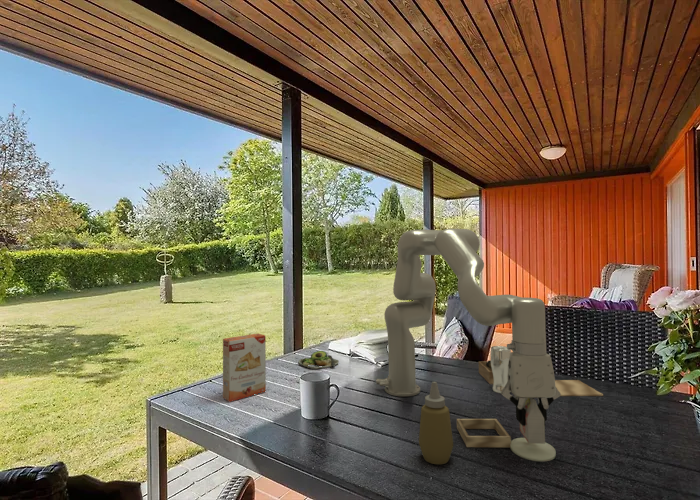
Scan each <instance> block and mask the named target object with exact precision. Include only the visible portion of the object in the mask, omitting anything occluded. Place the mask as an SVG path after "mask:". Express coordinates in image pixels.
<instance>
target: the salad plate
mask: <svg viewBox="0 0 700 500" xmlns="http://www.w3.org/2000/svg"><path fill="white" fill-rule="evenodd" d="M339 360H340V359H336V358H333V356H332V355H329V354H327V352H326V351H324V350H317V351H315V352H313V353H312V354H311V355H310V357H305V358H301V359H299V360H298V365H299V366H301V367H303V366H304V367H303V368H305V367H307V368H306V369H309V368H311V369H310V370H323V369H322V368H326V369H328V368H327V367H330V368H333V367H336V365H338V364H339V363H340V361H339ZM308 365H319V366H322V367H319V366H308ZM332 366H333V367H332Z"/></svg>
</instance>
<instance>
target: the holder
mask: <svg viewBox="0 0 700 500" xmlns="http://www.w3.org/2000/svg"><path fill="white" fill-rule="evenodd" d="M456 429H457V431H458V432H459V434H460V437H461V439H462V440H463V443H464V444H465V447H466V448H510V444H511V441H512V437H511V435H510V434H509V433H508V431H506V429H505V427H503V425H502V424H501V423H500V421H499V420H498V419H497V418H456ZM466 430H495V431H496V433H497V434H498V435H469V434H468V432H467V431H466Z"/></svg>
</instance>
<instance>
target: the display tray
mask: <svg viewBox="0 0 700 500" xmlns="http://www.w3.org/2000/svg"><path fill="white" fill-rule="evenodd" d="M487 361H488V360H487ZM487 361H485V360H484V361H478V373H479V375H480V376H481V377H482V378H483V379H484V380H485V381H486V382H487V383H488V384H489V385H493V384H494V378H493V372H492V369H490V368H488V367H487V366H486V362H487Z"/></svg>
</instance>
